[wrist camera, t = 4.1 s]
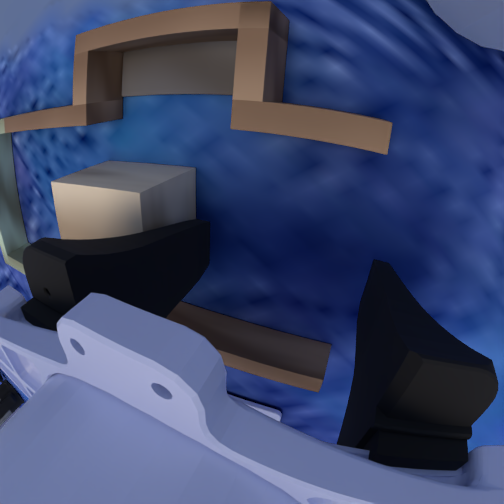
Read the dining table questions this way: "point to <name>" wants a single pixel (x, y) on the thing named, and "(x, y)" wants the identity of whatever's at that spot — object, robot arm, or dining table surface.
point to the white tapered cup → (474, 20)
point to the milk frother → (8, 400)
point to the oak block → (123, 199)
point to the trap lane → (243, 118)
